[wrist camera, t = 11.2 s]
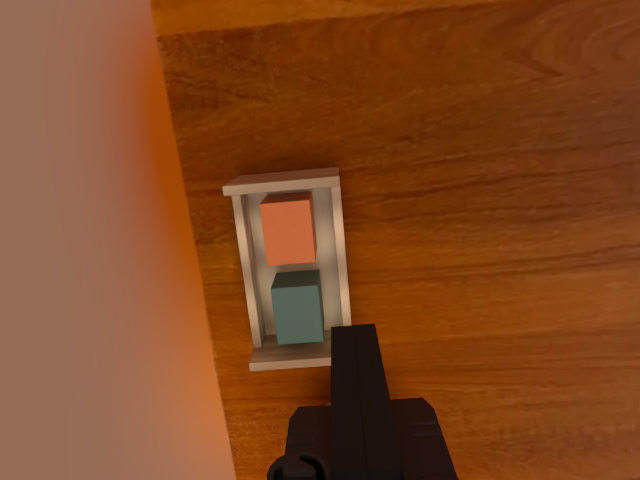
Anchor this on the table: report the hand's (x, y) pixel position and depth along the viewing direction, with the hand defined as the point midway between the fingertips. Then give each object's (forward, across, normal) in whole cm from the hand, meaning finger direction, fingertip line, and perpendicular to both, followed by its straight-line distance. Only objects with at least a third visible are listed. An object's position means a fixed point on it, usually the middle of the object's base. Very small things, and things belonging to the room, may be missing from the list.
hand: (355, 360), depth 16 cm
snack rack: (+26, -4, -4) cm, 27 cm away
